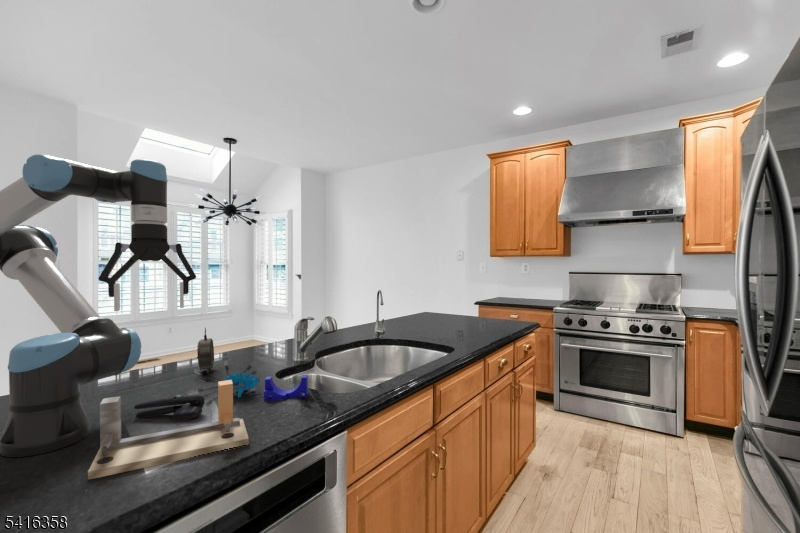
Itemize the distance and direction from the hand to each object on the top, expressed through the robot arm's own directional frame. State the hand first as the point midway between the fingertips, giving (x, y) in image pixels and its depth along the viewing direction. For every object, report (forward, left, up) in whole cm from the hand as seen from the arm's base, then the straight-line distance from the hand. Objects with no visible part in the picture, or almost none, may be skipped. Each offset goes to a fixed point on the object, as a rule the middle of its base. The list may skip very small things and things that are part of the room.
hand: (150, 309), depth 95 cm
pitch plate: (+6, -18, -29) cm, 34 cm away
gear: (+22, +12, -29) cm, 38 cm away
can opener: (+4, +3, -29) cm, 30 cm away
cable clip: (+34, +3, -29) cm, 45 cm away
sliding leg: (+16, -17, -26) cm, 35 cm away
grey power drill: (+13, +44, -29) cm, 54 cm away
